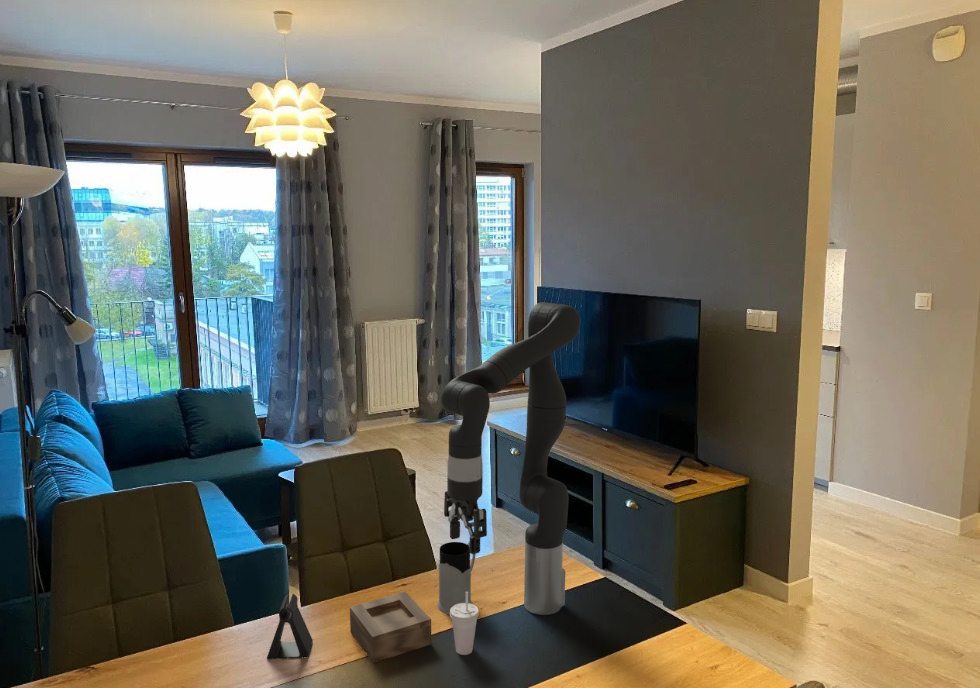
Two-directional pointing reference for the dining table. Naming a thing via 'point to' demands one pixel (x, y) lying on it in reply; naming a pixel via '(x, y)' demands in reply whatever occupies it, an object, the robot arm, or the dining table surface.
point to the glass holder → (454, 575)
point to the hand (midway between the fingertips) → (464, 545)
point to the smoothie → (464, 626)
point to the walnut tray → (390, 626)
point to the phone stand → (299, 631)
